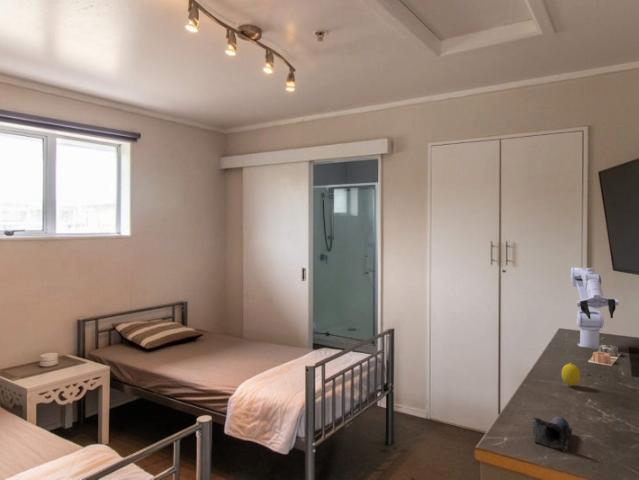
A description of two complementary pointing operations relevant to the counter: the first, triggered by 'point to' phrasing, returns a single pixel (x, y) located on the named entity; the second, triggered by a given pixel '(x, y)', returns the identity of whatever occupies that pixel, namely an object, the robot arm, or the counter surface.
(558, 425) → the black camera
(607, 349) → the board
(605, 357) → the gear
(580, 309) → the robot arm
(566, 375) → the lemon
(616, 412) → the counter surface
